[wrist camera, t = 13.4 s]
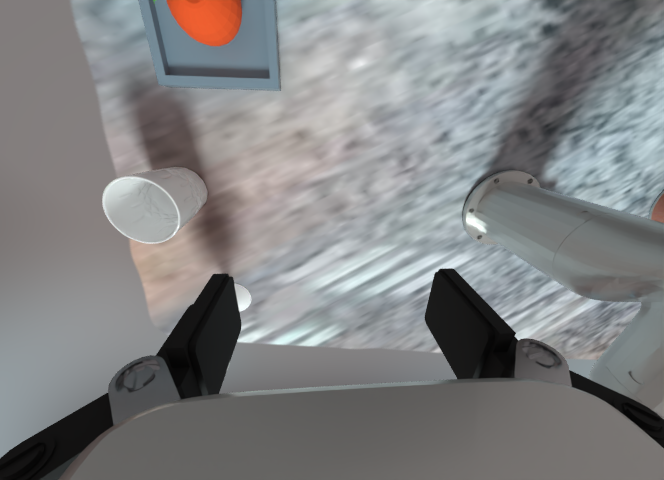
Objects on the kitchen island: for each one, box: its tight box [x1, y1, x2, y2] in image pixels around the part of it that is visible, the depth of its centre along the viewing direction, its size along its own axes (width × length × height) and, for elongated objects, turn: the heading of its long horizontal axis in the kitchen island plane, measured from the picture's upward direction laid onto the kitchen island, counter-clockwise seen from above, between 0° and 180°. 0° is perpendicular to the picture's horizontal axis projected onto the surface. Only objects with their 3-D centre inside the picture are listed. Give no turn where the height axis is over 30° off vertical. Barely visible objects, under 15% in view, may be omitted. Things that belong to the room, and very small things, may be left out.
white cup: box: [102, 167, 208, 243], centre depth 32 cm, size 8×8×10 cm
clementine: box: [153, 0, 242, 46], centre depth 24 cm, size 8×7×7 cm
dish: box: [138, 0, 281, 91], centre depth 27 cm, size 14×14×2 cm
